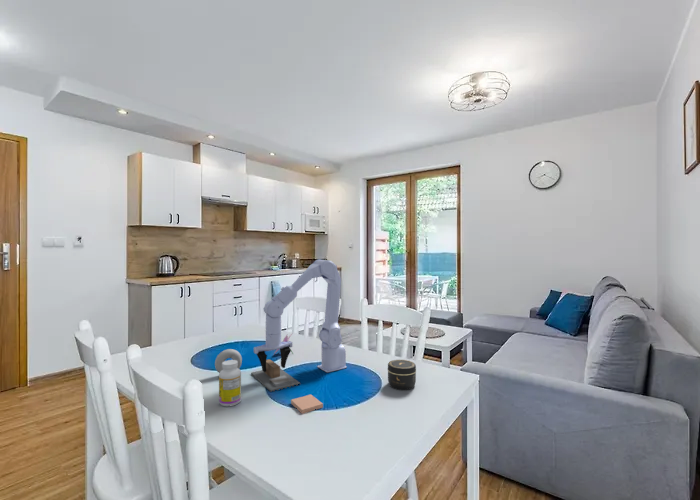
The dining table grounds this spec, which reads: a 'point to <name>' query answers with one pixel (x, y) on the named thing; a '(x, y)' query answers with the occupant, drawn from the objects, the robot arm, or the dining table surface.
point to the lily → (285, 341)
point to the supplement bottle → (230, 383)
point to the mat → (265, 378)
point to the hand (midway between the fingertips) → (273, 369)
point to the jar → (401, 374)
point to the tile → (306, 403)
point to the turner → (275, 374)
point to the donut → (227, 354)
